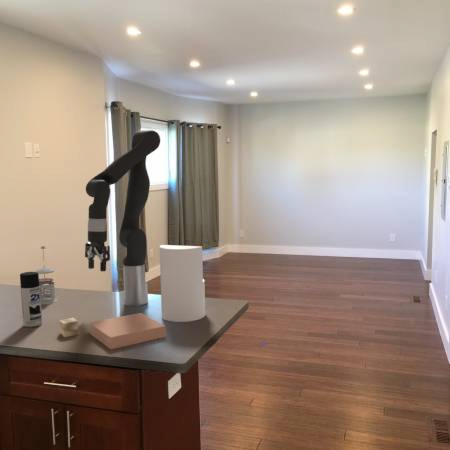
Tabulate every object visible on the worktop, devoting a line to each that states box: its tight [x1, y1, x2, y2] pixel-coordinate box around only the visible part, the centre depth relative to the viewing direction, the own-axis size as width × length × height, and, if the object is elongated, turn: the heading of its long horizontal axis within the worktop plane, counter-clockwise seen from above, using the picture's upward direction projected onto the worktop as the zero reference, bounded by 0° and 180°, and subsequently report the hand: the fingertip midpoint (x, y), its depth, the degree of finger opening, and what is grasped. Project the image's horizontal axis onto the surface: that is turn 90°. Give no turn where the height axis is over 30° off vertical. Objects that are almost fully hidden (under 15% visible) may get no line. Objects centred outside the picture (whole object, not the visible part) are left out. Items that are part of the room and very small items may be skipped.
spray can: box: [19, 271, 43, 328], centre depth 190 cm, size 7×7×20 cm
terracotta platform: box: [88, 312, 167, 350], centre depth 178 cm, size 20×20×4 cm
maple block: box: [59, 317, 79, 338], centre depth 180 cm, size 5×5×5 cm
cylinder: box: [159, 244, 206, 323], centre depth 199 cm, size 17×17×28 cm
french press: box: [34, 245, 58, 305], centre depth 224 cm, size 10×12×25 cm
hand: (97, 269), depth 204 cm, fingers open, 8 cm apart
